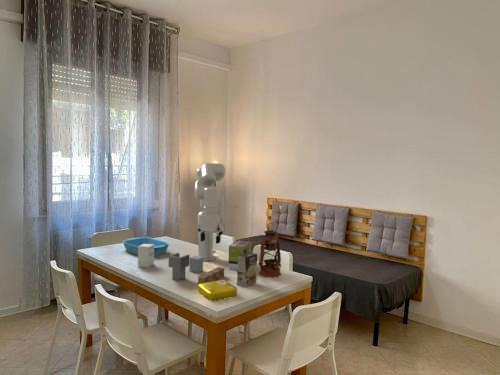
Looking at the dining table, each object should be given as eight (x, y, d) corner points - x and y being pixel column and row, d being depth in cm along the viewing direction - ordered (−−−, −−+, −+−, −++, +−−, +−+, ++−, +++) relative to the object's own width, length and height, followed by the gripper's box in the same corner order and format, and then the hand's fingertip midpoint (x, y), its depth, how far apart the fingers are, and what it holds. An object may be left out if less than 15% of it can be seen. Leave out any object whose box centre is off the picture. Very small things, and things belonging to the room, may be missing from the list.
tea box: (236, 262, 236) (237, 239, 235) (251, 264, 233) (252, 241, 232) (228, 269, 222) (228, 245, 221) (243, 271, 219) (244, 246, 218)
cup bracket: (177, 275, 207) (177, 252, 206) (189, 277, 204) (189, 254, 203) (168, 279, 200) (168, 256, 199) (180, 282, 197) (180, 258, 196)
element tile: (197, 292, 184) (197, 282, 183) (223, 287, 191) (224, 278, 191) (210, 302, 171) (210, 292, 170) (238, 297, 179) (238, 287, 178)
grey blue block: (194, 268, 220) (194, 255, 220) (202, 270, 218) (203, 257, 217) (189, 271, 216) (189, 257, 215) (198, 272, 213) (198, 259, 212)
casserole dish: (117, 249, 261) (117, 239, 261) (145, 244, 278) (145, 235, 277) (145, 260, 236) (145, 249, 236) (174, 254, 253) (174, 244, 252)
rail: (218, 275, 210) (218, 267, 210) (224, 276, 208) (224, 268, 208) (197, 286, 192) (198, 276, 192) (204, 287, 190) (204, 277, 190)
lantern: (267, 280, 204) (268, 226, 201) (251, 274, 214) (253, 222, 211) (288, 274, 215) (290, 223, 212) (272, 269, 224) (274, 220, 222)
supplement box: (148, 267, 220) (149, 247, 219) (137, 266, 222) (137, 246, 221) (154, 264, 227) (154, 244, 226) (143, 263, 229) (143, 243, 228)
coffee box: (245, 287, 191) (246, 257, 189) (236, 284, 195) (237, 255, 193) (256, 283, 198) (257, 254, 196) (247, 280, 202) (248, 251, 200)
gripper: (193, 209, 198) (193, 241, 200) (221, 212, 191) (220, 245, 192) (201, 208, 205) (200, 238, 206) (228, 211, 197) (227, 242, 199)
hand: (210, 241), depth 199 cm, fingers open, 9 cm apart
